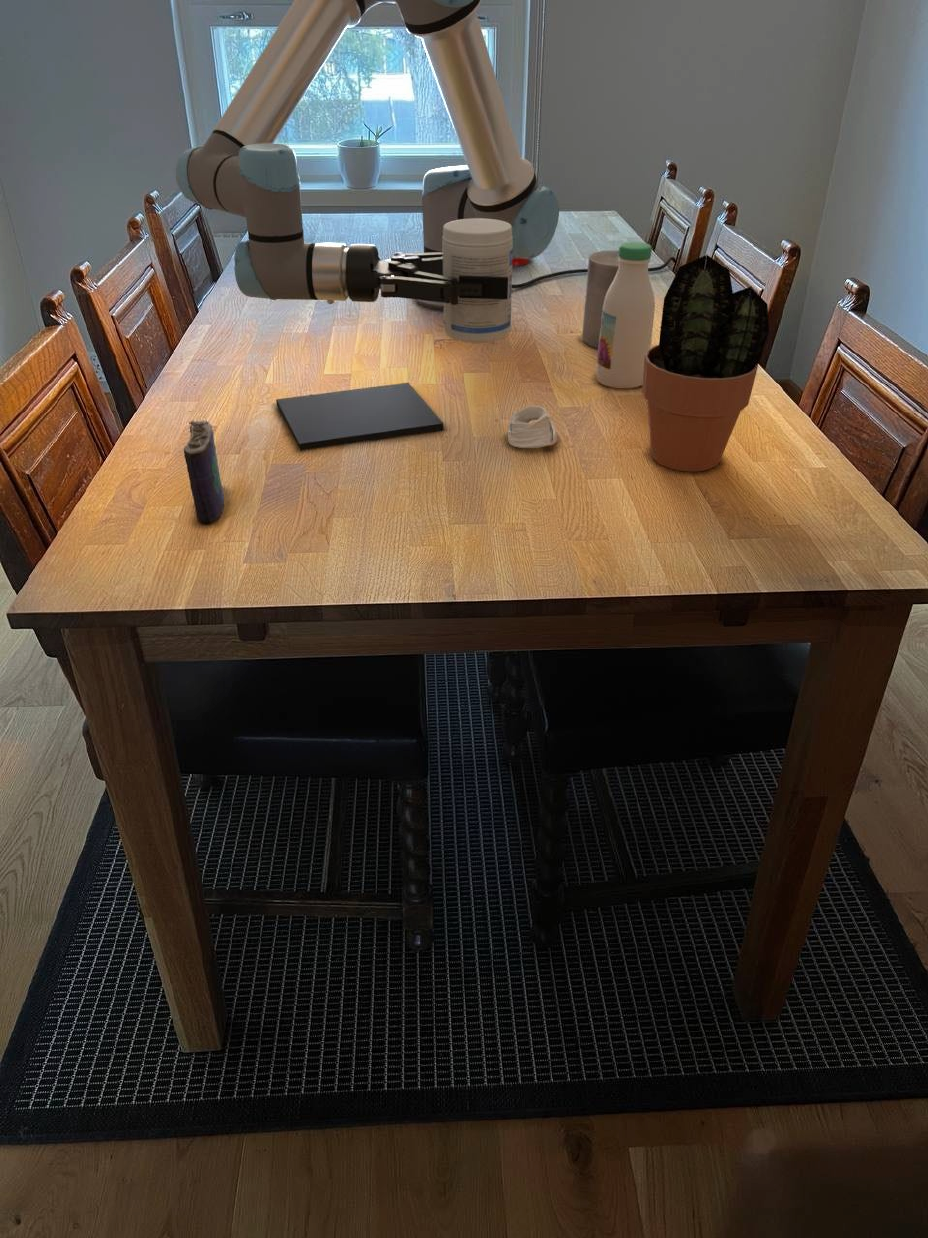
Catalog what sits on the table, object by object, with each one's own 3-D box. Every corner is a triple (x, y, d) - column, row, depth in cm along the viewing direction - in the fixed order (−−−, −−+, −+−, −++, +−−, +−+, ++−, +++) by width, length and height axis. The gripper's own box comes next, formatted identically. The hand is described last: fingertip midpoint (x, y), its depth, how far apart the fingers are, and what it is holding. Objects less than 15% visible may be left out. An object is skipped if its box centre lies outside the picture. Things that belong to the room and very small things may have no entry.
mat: (408, 388, 138) (408, 382, 137) (443, 430, 126) (443, 423, 125) (276, 405, 132) (275, 399, 132) (299, 450, 120) (299, 443, 119)
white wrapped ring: (562, 458, 121) (568, 424, 118) (512, 457, 119) (518, 423, 116) (547, 429, 127) (553, 397, 124) (500, 428, 125) (505, 395, 122)
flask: (202, 488, 111) (188, 405, 105) (227, 487, 111) (214, 404, 105) (195, 526, 104) (179, 439, 97) (221, 525, 104) (207, 437, 98)
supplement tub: (523, 337, 130) (528, 227, 121) (467, 350, 125) (468, 237, 117) (484, 319, 136) (486, 213, 128) (430, 330, 132) (429, 222, 123)
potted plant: (676, 489, 112) (709, 279, 97) (611, 447, 122) (633, 250, 107) (761, 467, 117) (805, 264, 103) (693, 428, 127) (724, 238, 112)
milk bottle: (649, 375, 143) (667, 240, 132) (640, 392, 137) (658, 253, 126) (601, 368, 145) (614, 236, 134) (590, 385, 139) (603, 248, 128)
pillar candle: (645, 336, 158) (656, 245, 150) (628, 353, 151) (639, 259, 142) (591, 328, 162) (599, 238, 153) (573, 345, 154) (580, 252, 146)
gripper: (363, 278, 138) (511, 282, 137) (335, 325, 120) (504, 330, 119) (360, 225, 134) (513, 229, 133) (330, 266, 116) (506, 271, 115)
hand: (509, 277), depth 126 cm, fingers closed on supplement tub, 9 cm apart
